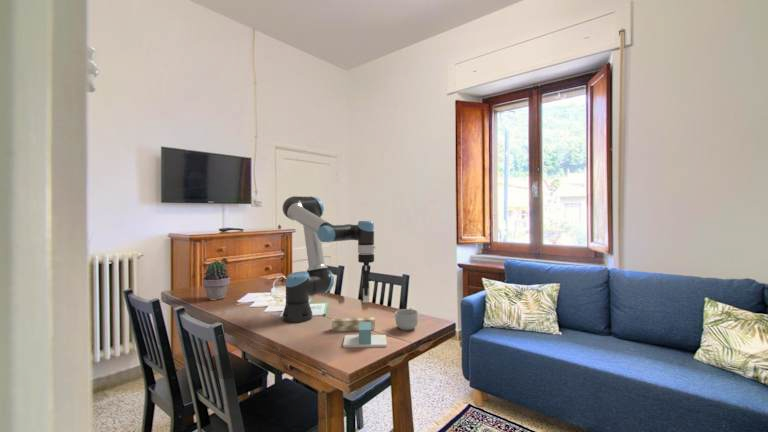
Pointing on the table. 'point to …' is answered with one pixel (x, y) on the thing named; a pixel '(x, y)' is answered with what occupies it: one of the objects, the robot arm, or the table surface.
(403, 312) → the teacup
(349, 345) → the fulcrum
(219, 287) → the potted plant
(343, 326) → the beige mottled long block
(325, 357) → the table surface
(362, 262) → the robot arm
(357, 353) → the table surface
